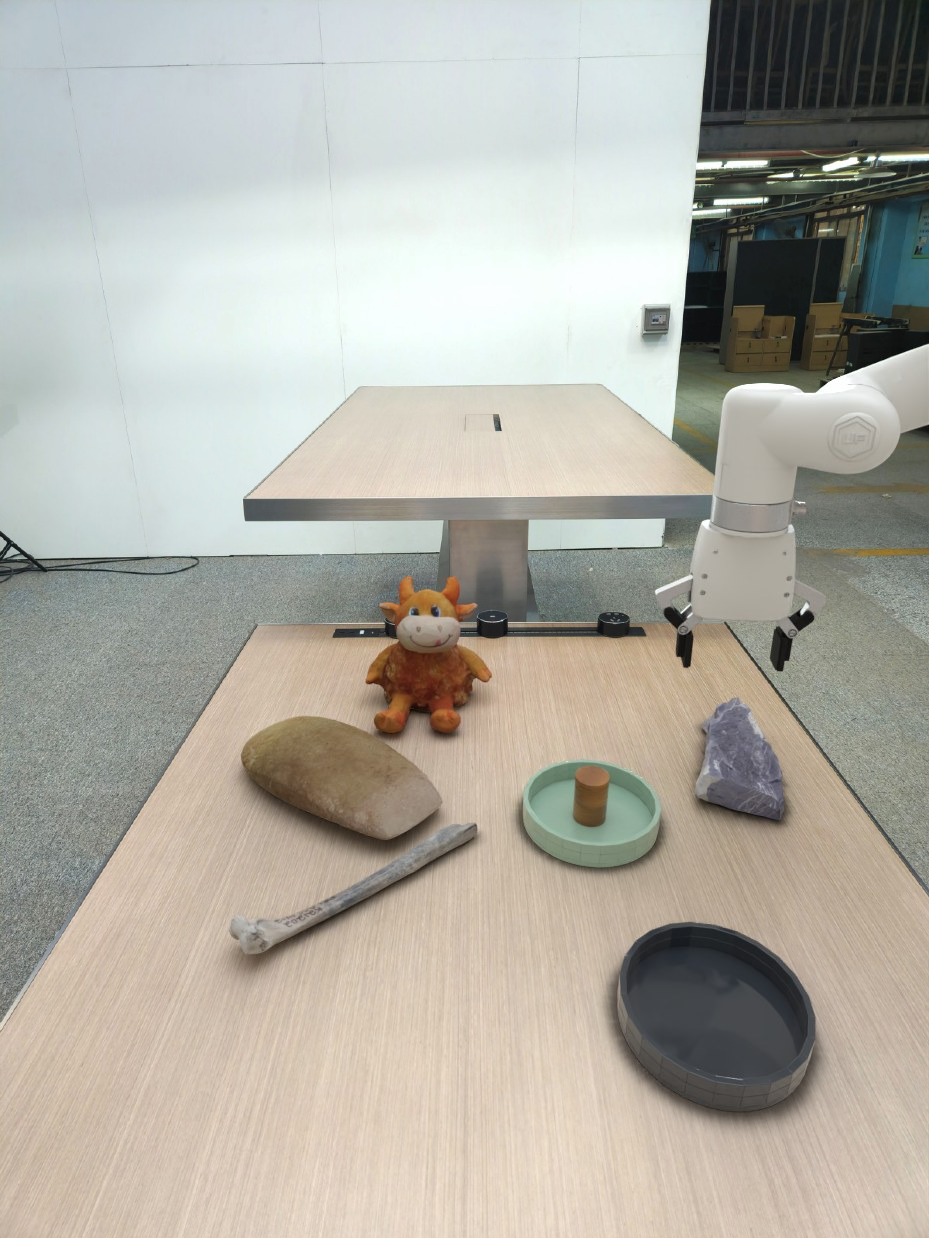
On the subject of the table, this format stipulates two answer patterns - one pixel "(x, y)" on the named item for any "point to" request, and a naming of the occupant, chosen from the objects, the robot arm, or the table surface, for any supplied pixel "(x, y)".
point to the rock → (739, 764)
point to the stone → (340, 775)
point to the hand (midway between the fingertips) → (730, 664)
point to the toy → (426, 658)
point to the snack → (590, 796)
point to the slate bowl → (715, 1016)
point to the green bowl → (601, 846)
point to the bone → (347, 893)
